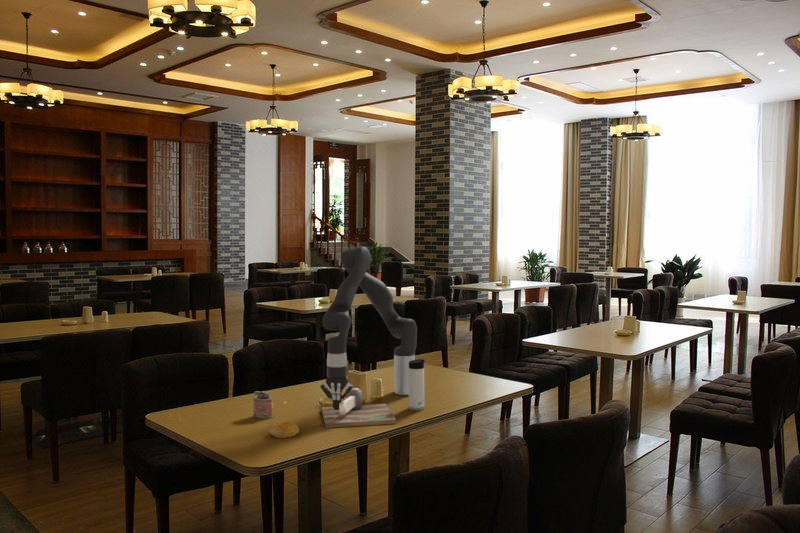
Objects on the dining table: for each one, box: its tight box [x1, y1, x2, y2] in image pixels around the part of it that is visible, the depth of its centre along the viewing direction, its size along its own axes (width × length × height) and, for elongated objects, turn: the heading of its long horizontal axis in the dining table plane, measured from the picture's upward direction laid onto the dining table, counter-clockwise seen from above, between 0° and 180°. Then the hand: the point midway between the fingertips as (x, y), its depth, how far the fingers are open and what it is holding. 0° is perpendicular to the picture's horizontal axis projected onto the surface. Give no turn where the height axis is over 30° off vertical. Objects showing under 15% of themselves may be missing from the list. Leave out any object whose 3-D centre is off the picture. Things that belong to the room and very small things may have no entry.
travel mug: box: [408, 358, 426, 411], centre depth 263 cm, size 6×7×20 cm
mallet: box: [339, 387, 363, 415], centre depth 253 cm, size 18×5×8 cm, turn 165°
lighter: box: [252, 390, 273, 420], centre depth 253 cm, size 8×3×10 cm, turn 71°
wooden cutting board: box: [321, 403, 397, 429], centre depth 252 cm, size 23×26×2 cm
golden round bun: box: [269, 421, 300, 439], centre depth 232 cm, size 10×11×5 cm
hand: (336, 409), depth 249 cm, fingers closed
